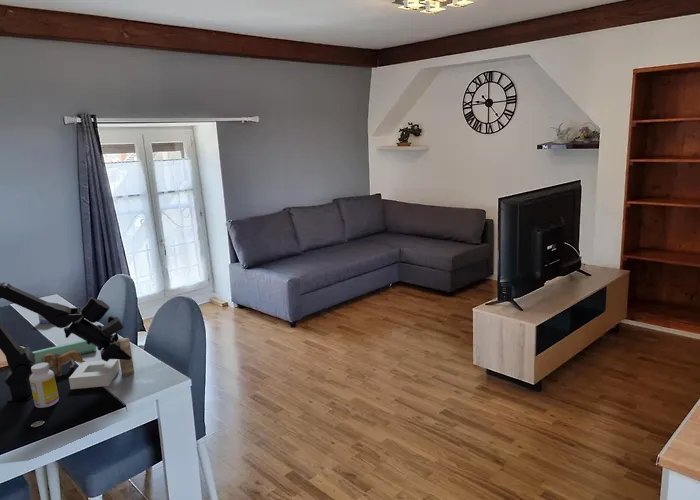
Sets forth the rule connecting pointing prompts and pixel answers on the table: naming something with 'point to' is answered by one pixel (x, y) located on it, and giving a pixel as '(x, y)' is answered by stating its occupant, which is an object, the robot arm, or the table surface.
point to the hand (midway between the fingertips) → (129, 355)
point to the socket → (94, 374)
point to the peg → (126, 365)
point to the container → (64, 350)
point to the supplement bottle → (43, 385)
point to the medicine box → (43, 319)
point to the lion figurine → (61, 360)
